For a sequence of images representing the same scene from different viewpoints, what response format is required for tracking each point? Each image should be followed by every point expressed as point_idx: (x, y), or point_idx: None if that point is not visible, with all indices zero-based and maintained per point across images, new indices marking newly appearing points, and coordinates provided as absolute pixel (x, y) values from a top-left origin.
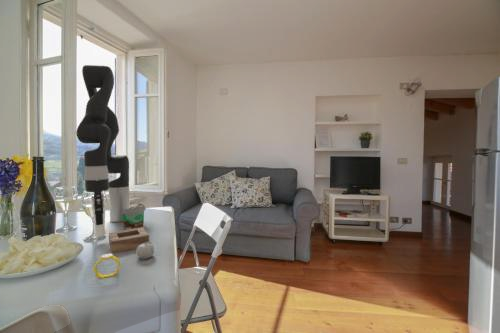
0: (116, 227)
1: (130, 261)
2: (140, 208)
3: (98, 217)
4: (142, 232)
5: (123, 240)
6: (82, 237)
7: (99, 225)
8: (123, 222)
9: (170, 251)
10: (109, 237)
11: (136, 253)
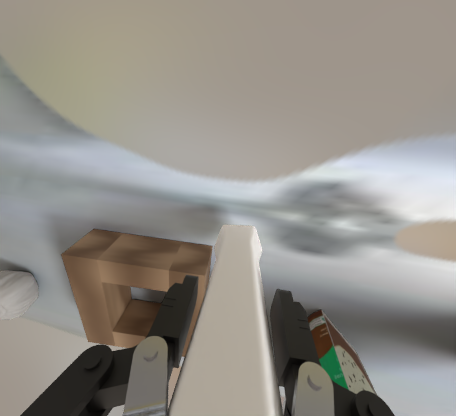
0: (407, 305)
1: (9, 249)
2: None
3: (158, 327)
4: (127, 340)
5: (72, 284)
6: (397, 182)
7: (209, 280)
8: (332, 344)
9: (45, 322)
10: (166, 262)
11: (5, 275)
